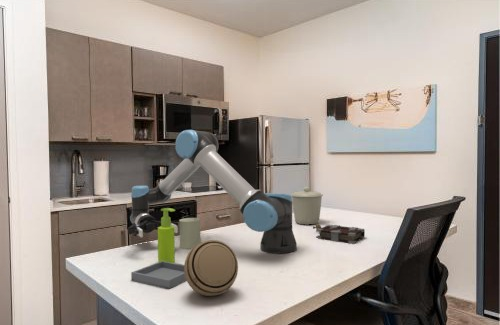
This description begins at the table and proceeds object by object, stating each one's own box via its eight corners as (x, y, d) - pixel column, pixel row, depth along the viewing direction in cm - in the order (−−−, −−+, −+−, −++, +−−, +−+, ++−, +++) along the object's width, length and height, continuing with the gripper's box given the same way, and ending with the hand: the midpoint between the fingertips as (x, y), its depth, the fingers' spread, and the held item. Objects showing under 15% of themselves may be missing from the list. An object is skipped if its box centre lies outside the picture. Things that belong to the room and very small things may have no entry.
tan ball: (174, 300, 93) (173, 245, 93) (201, 281, 107) (200, 233, 107) (224, 308, 88) (223, 249, 87) (246, 287, 102) (245, 236, 101)
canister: (326, 226, 189) (325, 187, 188) (292, 226, 189) (292, 188, 189) (319, 220, 207) (319, 185, 206) (289, 220, 207) (289, 185, 207)
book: (353, 245, 150) (353, 233, 150) (302, 237, 165) (302, 226, 165) (365, 238, 161) (365, 227, 161) (316, 231, 177) (316, 222, 177)
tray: (197, 274, 113) (197, 267, 113) (169, 289, 101) (169, 280, 101) (162, 267, 121) (161, 260, 121) (131, 280, 109) (131, 272, 109)
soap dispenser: (168, 266, 122) (167, 210, 122) (154, 263, 126) (153, 208, 125) (180, 262, 127) (179, 208, 127) (166, 259, 131) (165, 206, 130)
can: (196, 249, 145) (196, 220, 145) (176, 248, 147) (175, 220, 146) (204, 243, 154) (203, 216, 154) (184, 243, 156) (184, 216, 156)
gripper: (173, 228, 159) (190, 237, 140) (115, 235, 146) (126, 245, 128) (173, 211, 158) (190, 218, 140) (115, 217, 146) (125, 225, 127)
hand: (159, 231), depth 134 cm, fingers open, 13 cm apart
